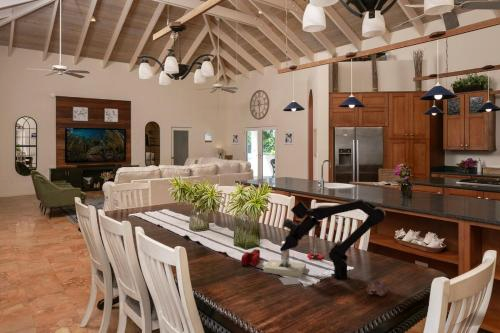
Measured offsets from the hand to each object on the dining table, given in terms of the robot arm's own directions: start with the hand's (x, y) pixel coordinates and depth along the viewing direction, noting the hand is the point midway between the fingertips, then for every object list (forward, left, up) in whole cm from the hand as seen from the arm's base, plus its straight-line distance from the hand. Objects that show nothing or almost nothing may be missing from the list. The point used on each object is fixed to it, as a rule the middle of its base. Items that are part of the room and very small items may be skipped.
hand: (282, 247), depth 169 cm
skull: (-34, -30, -11) cm, 47 cm away
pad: (-14, +1, -11) cm, 18 cm away
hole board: (-1, -1, -11) cm, 11 cm away
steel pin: (-1, -1, -11) cm, 11 cm away
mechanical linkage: (+15, +11, -11) cm, 22 cm away
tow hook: (+15, -23, -11) cm, 30 cm away
